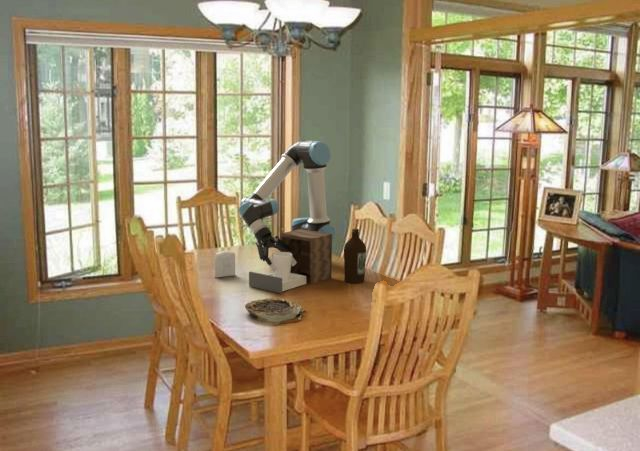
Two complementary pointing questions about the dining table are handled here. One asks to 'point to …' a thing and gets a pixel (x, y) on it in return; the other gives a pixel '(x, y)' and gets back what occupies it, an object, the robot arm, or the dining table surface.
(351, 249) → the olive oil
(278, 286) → the tray
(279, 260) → the foam cup
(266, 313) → the pie
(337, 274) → the dining table surface
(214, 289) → the dining table surface
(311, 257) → the cabinet
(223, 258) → the photo printer
